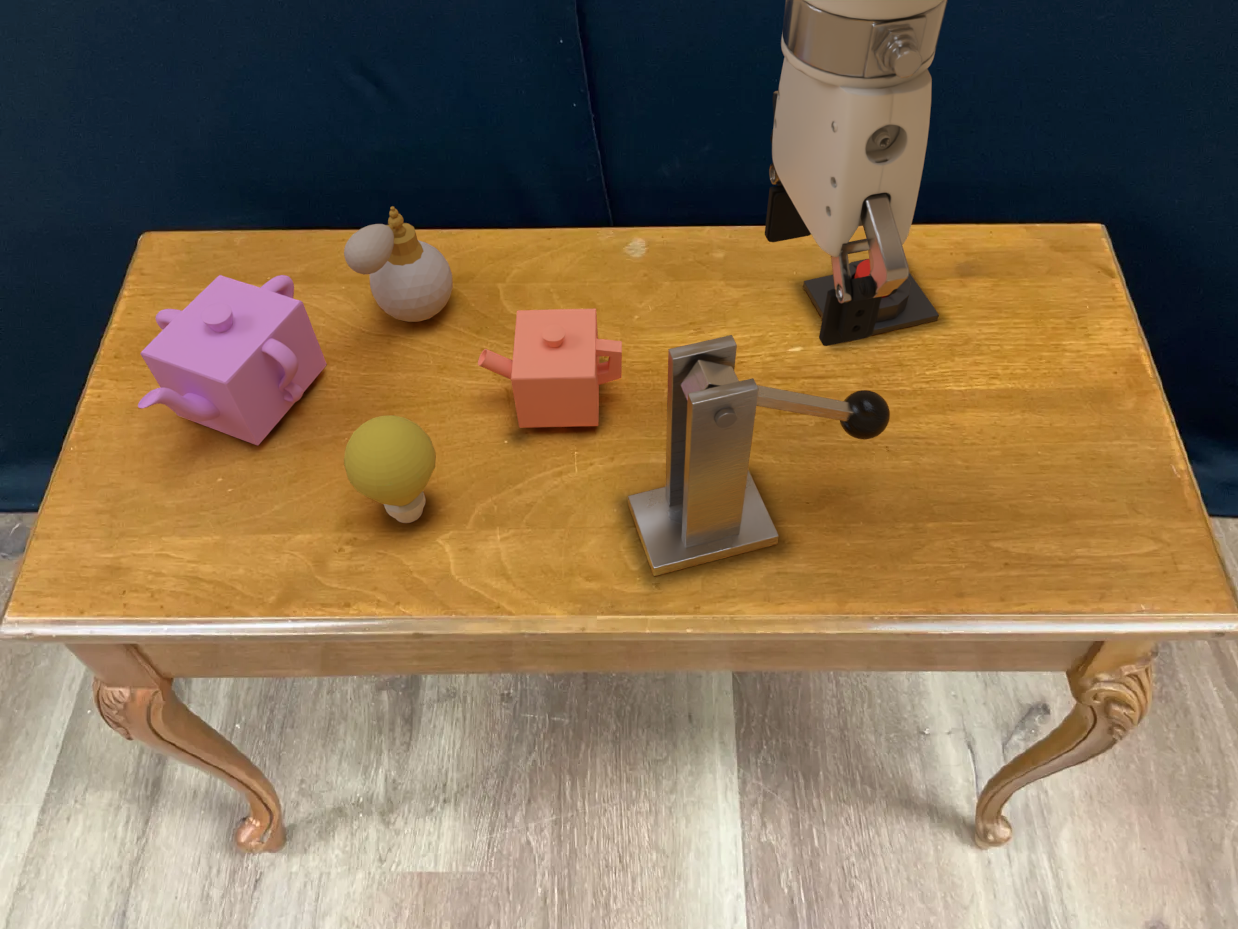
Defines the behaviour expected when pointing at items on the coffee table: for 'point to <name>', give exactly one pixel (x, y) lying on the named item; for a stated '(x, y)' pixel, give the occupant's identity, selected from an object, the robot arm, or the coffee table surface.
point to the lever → (802, 401)
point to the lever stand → (704, 471)
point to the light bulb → (391, 464)
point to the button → (864, 270)
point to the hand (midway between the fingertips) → (815, 285)
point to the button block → (882, 302)
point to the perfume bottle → (400, 269)
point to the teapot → (234, 357)
